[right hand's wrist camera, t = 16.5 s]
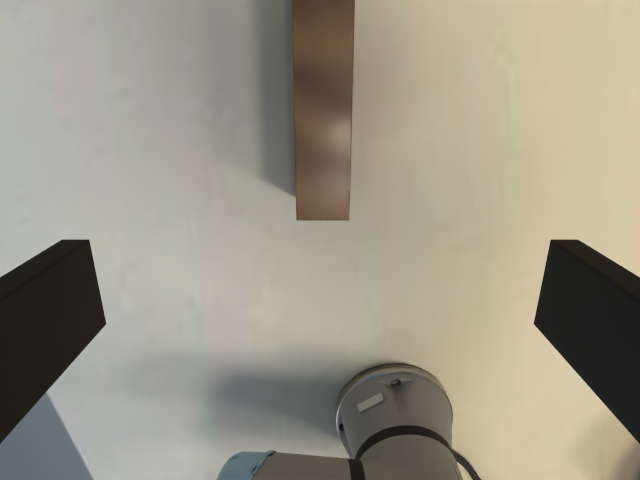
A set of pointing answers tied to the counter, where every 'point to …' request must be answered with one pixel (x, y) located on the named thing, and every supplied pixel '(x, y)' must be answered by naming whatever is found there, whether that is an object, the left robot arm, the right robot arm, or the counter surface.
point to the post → (323, 106)
